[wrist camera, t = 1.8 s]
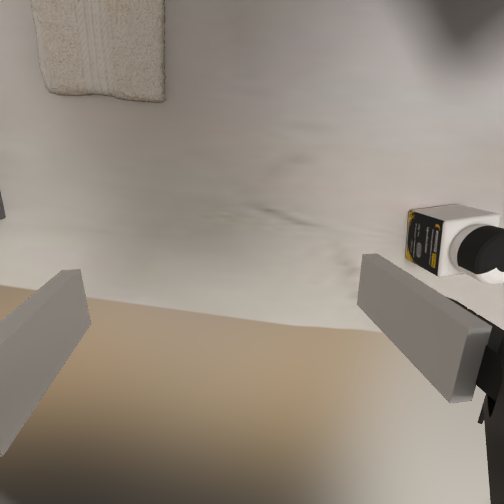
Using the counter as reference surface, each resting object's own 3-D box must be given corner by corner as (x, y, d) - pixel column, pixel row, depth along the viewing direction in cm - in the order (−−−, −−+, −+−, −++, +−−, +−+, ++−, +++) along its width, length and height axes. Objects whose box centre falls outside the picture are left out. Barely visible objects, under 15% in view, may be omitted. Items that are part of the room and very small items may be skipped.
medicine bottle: (407, 209, 42) (480, 232, 31) (456, 203, 43) (545, 223, 31) (404, 258, 44) (471, 296, 33) (450, 252, 45) (531, 286, 34)
